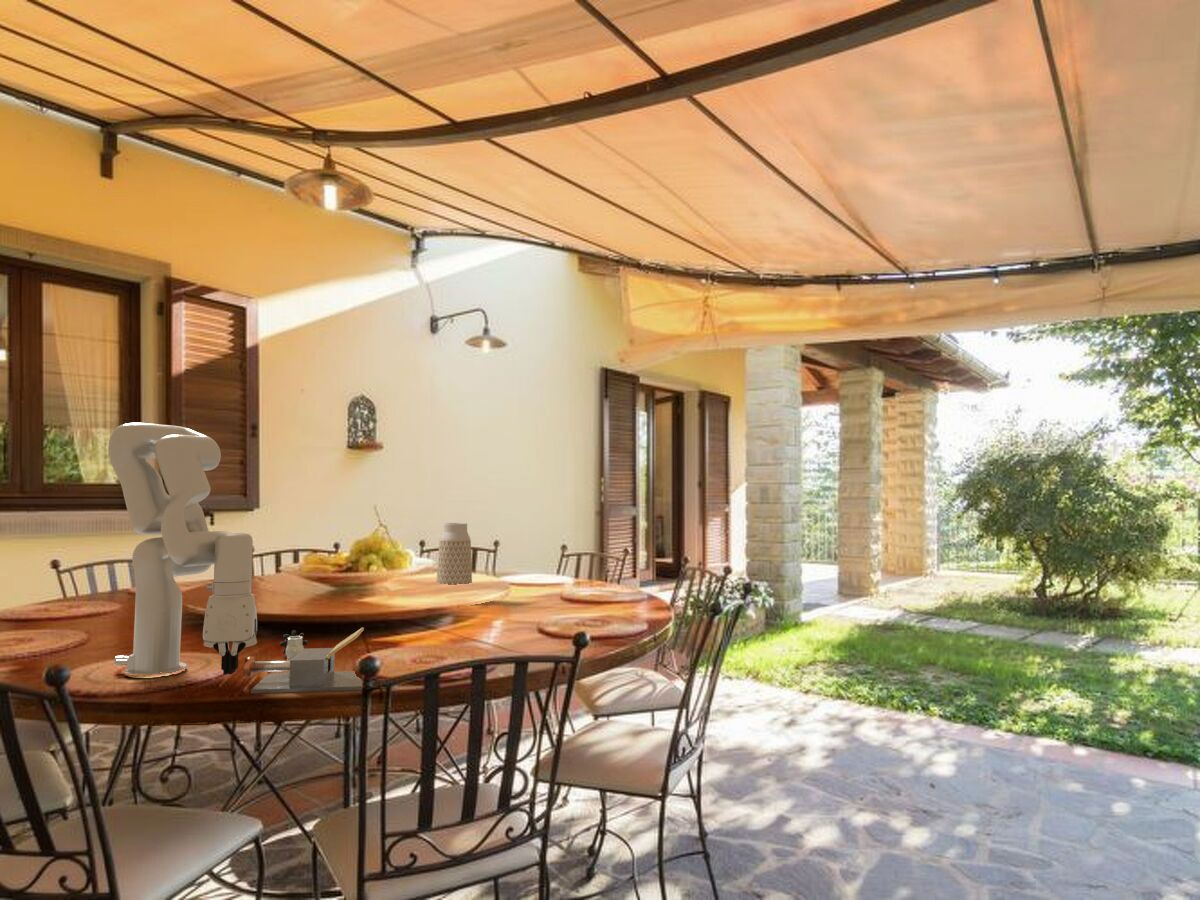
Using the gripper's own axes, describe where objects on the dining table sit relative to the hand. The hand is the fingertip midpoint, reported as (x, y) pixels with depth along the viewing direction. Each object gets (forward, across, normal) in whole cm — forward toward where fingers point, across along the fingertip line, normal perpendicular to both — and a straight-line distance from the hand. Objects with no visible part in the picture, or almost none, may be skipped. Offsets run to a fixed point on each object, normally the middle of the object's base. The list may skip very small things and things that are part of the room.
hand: (229, 672), depth 161 cm
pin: (+1, +11, 0) cm, 11 cm away
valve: (+3, +8, +24) cm, 25 cm away
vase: (+3, +44, +120) cm, 128 cm away
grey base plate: (+3, +18, 0) cm, 18 cm away
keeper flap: (-5, +25, 0) cm, 25 cm away
